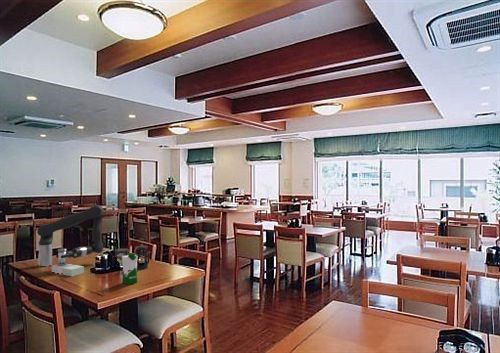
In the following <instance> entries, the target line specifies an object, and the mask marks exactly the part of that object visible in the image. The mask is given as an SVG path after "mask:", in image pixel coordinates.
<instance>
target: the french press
mask: <svg viewBox="0 0 500 353" xmlns="http://www.w3.org/2000/svg"><path fill="white" fill-rule="evenodd" d="M138 240H139V241H140V242H143V240H145V238H139V239H138ZM148 247H149V246H148V245H138V246H137V245H136V247H135V248H136V250H140V251H138V252H135V255H136V256H138V259H137V271H139V270H147V269H149V264H150V251H146V250H148ZM143 256H144V257H143ZM140 257H141V258H140Z"/></svg>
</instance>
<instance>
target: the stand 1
mask: <svg viewBox="0 0 500 353" xmlns="http://www.w3.org/2000/svg"><path fill="white" fill-rule="evenodd" d="M69 266H73V264H71V263H67V265H65V266H58V264H53V265H51V273H52V272H55V273H54V274H57V273H59V274H58V275H62V274H61V273H63V268H65V267H69Z"/></svg>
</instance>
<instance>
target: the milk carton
mask: <svg viewBox="0 0 500 353" xmlns="http://www.w3.org/2000/svg"><path fill="white" fill-rule="evenodd" d="M137 259H138V256H136V252H135V253H134V252H130V253H129V252H128V255H127V256H122V262H123V269H122V280H121V281H122V282H121V283H122V284H125V285H127V286H129V285H133V284H137V283H138V269H137Z"/></svg>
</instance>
